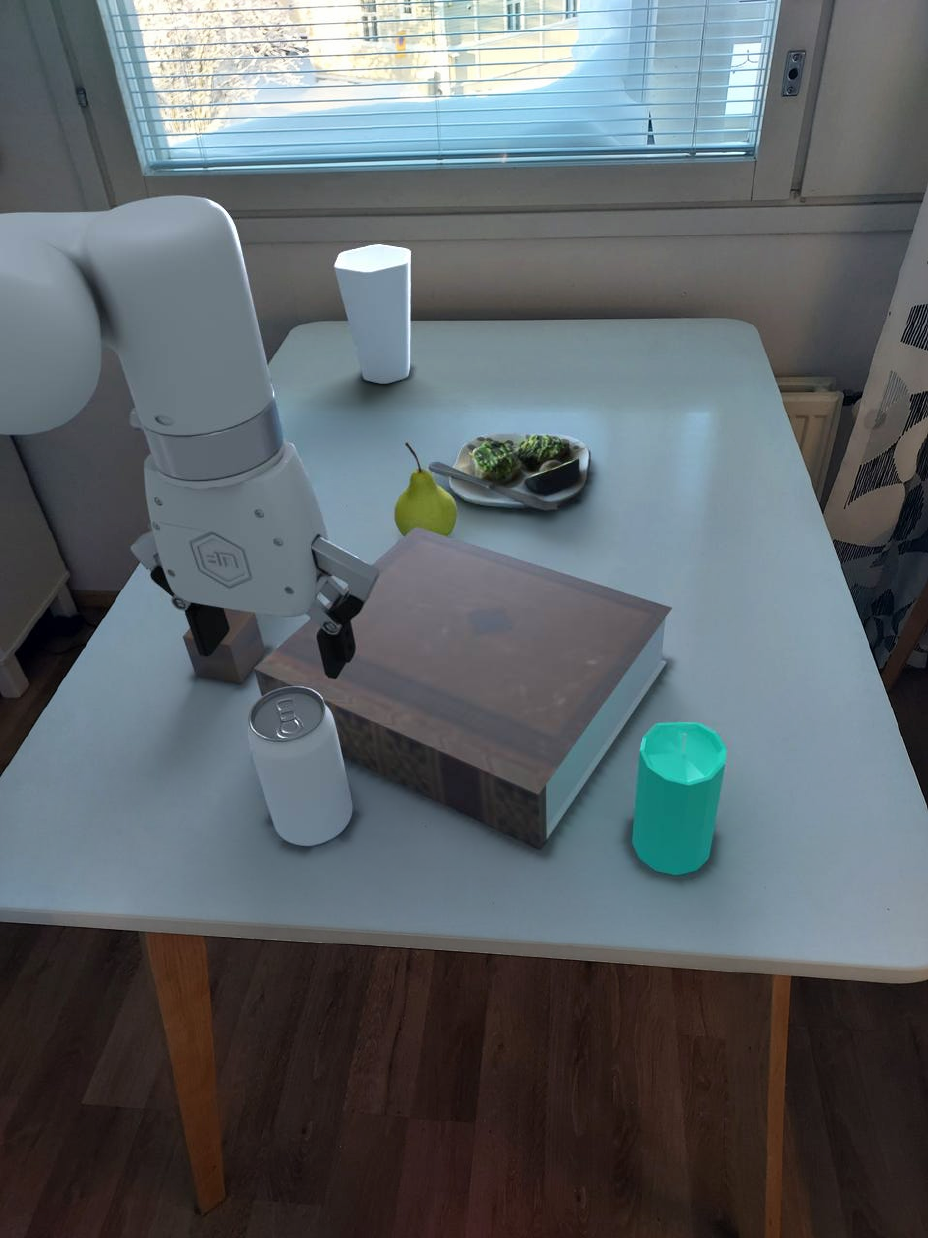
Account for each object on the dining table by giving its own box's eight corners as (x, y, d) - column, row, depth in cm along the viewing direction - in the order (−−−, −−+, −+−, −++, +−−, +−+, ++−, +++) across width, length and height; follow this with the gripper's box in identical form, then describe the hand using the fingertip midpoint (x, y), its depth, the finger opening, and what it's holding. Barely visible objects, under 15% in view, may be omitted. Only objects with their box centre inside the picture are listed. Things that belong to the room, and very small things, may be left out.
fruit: (471, 539, 104) (465, 444, 97) (427, 566, 101) (416, 470, 93) (430, 517, 108) (420, 424, 101) (385, 542, 105) (372, 448, 97)
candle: (723, 830, 72) (742, 721, 64) (694, 888, 68) (711, 780, 60) (650, 800, 74) (661, 692, 67) (618, 854, 71) (626, 747, 63)
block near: (195, 676, 90) (182, 636, 86) (221, 642, 93) (209, 603, 90) (241, 684, 88) (229, 645, 85) (265, 650, 92) (255, 611, 89)
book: (539, 849, 71) (538, 794, 67) (268, 721, 84) (253, 668, 80) (666, 662, 87) (672, 607, 83) (421, 577, 99) (415, 526, 95)
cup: (417, 388, 135) (405, 269, 124) (348, 391, 135) (330, 273, 124) (423, 356, 143) (412, 242, 132) (358, 358, 144) (342, 245, 133)
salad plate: (413, 513, 109) (409, 480, 106) (447, 439, 122) (445, 407, 119) (578, 525, 105) (578, 490, 102) (595, 447, 118) (596, 414, 115)
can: (278, 858, 72) (246, 754, 65) (269, 796, 77) (238, 693, 70) (360, 837, 73) (337, 732, 66) (346, 777, 78) (323, 673, 71)
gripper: (50, 452, 53) (140, 670, 64) (324, 482, 48) (371, 713, 59) (125, 392, 58) (196, 603, 69) (378, 414, 54) (412, 637, 64)
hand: (276, 654), depth 64 cm, fingers open, 9 cm apart
